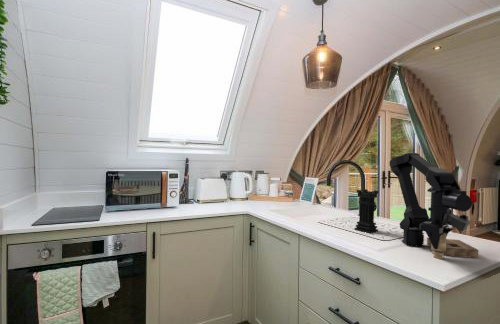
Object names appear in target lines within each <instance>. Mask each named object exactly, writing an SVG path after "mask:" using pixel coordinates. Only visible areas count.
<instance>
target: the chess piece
mask: <svg viewBox="0 0 500 324" xmlns="http://www.w3.org/2000/svg"><path fill="white" fill-rule="evenodd" d="M356 193H357V197H359V201H358V204H359V217H358V219H359V221H356V224H355V227H354V229H353V230H354V231H357V232H358V231H359V232H361V233H365V232H366V233H365V234H368V233H370V234H373V232H374V233H377V232H379V229H378V225H377V222H375V204H376V202H375V199H376V198H377V197H378V194H379V190H373V191H370V190H368V189H365V188H364V189H362V190H361V189H357V190H356ZM376 231H377V232H376Z"/></svg>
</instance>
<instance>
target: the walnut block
mask: <svg viewBox="0 0 500 324" xmlns="http://www.w3.org/2000/svg"><path fill="white" fill-rule="evenodd" d="M426 246H428V247H430V248H431V241H430V239H429V237H426ZM444 256H448V257H450V256H451V257H463V258H475V259H478V258H479V249H478V248H476V247H474V246H471V245H470V244H468V243H466V242H464V241H462V240H460V239H455V238H454V239H451V238H450V239H449V238H446V252H445V253H444Z"/></svg>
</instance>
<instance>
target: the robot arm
mask: <svg viewBox="0 0 500 324" xmlns="http://www.w3.org/2000/svg"><path fill="white" fill-rule="evenodd" d="M388 165H389V167H390V169H391V172H392V173H393V174H394V175H395V176H396V177H397V179H398V184H399V186H400V191H401V194H402V198H403V202H404V204H405V205H404V206H405V210H404V212H403V219H401V221H400V222H399V228H400V229H401V230H403V238H402V240H401V242H402V243H403V244H404V245H406V246H408V247H419V248H425V245H424V240H425V236H424V234H423V233H424V232H425V234H426V235H427V238H429V239H430V241H431V244H432V246H433V248H434V249H438V246H439V241H440V237H441V235H443V234H444V233H445V234H446V238H447V236H448V234H449V233H450V232H452V231H454V230H455V229H457V230H458V231H460V232H463V231H466V230H467V228H468V227H469V226H470V224H471V221H470V219H469V216H468V215H466V214H461V215H458V214H454V213H453V212H454V211H453V210H455V211H459V212H468V211H469V210H470V209H471V208H472V205H473V201H472V198H471V197H470V196H469V195H467V191H466V190H462V189H461V187H460V185H459V183H458V181H457V179H456V178H455V175H454V173H453V172H451V171H448V170H446V169H442V168H439V167H436V166H435V165H434V164H432V163H431V162H429V161H428V160H426V159H425V158H424V157H423V156H421V155H420V154H419V153H417V152H407V153H404V154H402V155H399V156H394V157H392V158H391V160H389V164H388ZM413 168H415V169H416V170H417V171H419V172H420V173H421V174H422V175H424V177H425V181H426V182H427V183H428V185H429V186H431V187H429V188H428V189H426V190H427V193H430V207H428V208H427V209H428V210H427V209H426V208H425V207H424V208H423V207H421V206H420V204H419V200H418V196H417V193H416V190H415V187H414V183H413V180H412V175H411V173H412V170H413ZM428 211H429V212H430V213H428ZM450 226H452V227H453V228H452V227H450Z"/></svg>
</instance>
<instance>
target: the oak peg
mask: <svg viewBox="0 0 500 324" xmlns="http://www.w3.org/2000/svg"><path fill="white" fill-rule="evenodd" d="M446 239H447V237H446V234H445V233H444V234H443V235H441V237H440V241H439V246H438V249H434V248H433V246H432V244H431V247H430V250H431V251H432V254H433V256H432V257H433V258H435V259H437V260H443V257H444V256H445V255H444V253H445V252H446Z"/></svg>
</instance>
